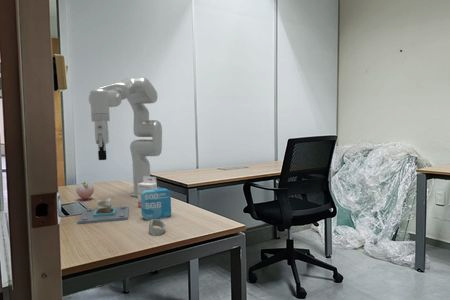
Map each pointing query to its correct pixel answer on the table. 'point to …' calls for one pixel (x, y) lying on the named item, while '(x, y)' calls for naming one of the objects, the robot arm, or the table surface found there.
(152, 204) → the data package
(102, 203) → the smooth beige block
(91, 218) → the baseplate
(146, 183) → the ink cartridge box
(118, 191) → the table surface
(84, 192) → the decorative fruit
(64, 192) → the table surface
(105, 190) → the table surface
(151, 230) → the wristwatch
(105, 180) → the table surface
